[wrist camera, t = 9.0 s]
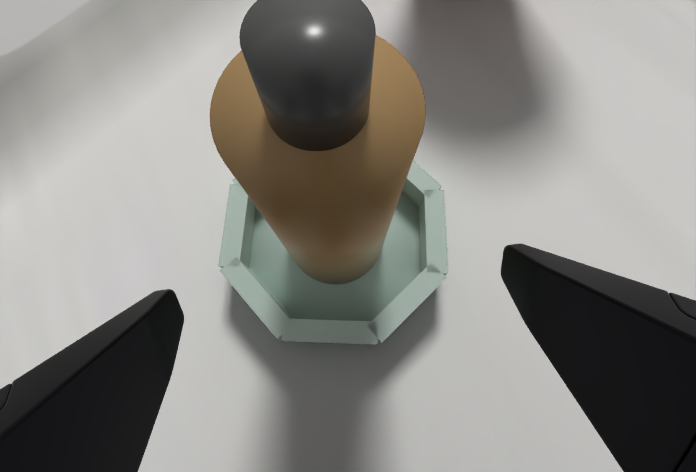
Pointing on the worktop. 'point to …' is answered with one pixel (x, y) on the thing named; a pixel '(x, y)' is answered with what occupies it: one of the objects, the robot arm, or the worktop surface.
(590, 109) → the worktop surface
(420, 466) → the worktop surface
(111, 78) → the worktop surface
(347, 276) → the bottle
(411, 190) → the dish
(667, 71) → the worktop surface
